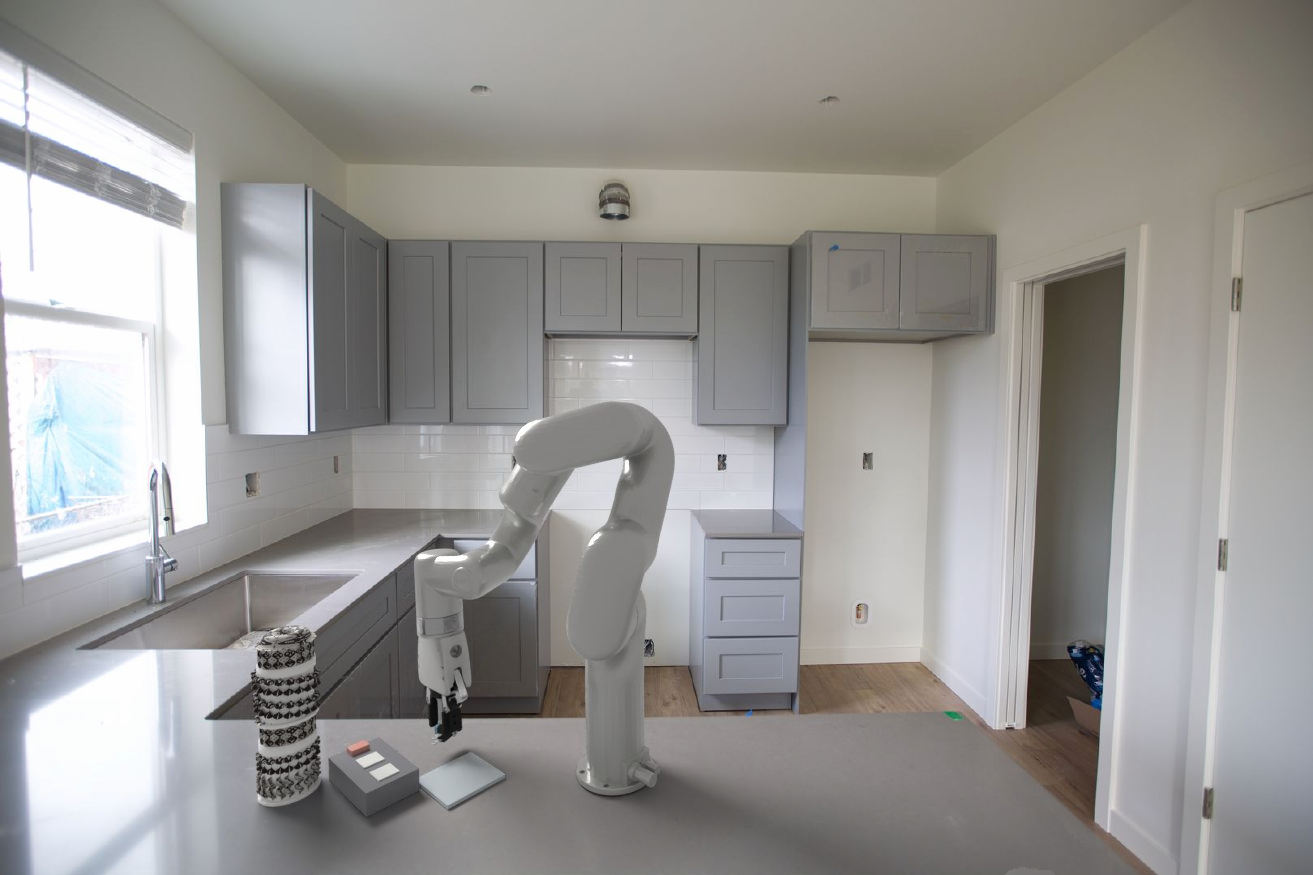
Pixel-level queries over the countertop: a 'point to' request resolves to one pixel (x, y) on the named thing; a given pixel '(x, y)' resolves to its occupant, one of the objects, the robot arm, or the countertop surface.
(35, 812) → the countertop surface
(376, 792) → the power strip
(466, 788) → the pale blue mat
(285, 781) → the decorative candle
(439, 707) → the push button
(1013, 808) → the countertop surface
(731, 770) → the countertop surface
